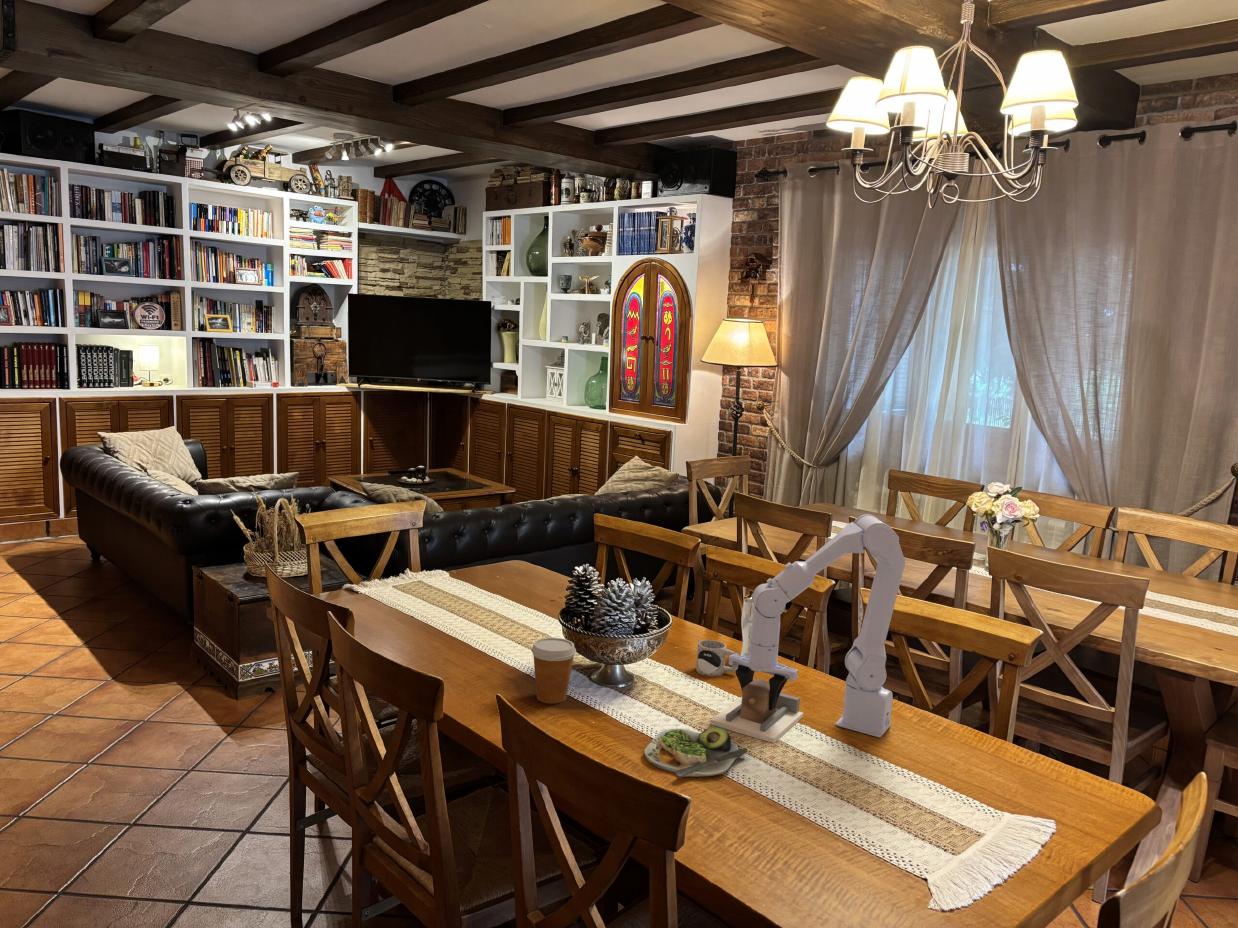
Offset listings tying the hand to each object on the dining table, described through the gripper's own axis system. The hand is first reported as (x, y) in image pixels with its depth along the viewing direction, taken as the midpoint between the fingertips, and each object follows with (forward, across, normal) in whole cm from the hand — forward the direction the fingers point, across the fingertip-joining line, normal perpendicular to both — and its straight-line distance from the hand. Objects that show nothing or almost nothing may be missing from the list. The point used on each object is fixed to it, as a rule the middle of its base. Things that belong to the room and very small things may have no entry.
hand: (759, 704), depth 190 cm
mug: (+3, -19, +20) cm, 28 cm away
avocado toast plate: (+4, -3, -24) cm, 24 cm away
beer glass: (+3, -16, +34) cm, 37 cm away
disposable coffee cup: (+3, -40, -18) cm, 44 cm away
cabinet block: (+2, 0, 0) cm, 2 cm away
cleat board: (+3, 0, 0) cm, 3 cm away
